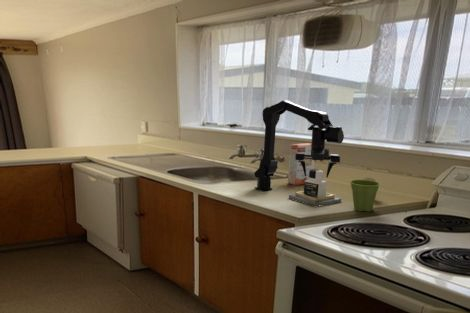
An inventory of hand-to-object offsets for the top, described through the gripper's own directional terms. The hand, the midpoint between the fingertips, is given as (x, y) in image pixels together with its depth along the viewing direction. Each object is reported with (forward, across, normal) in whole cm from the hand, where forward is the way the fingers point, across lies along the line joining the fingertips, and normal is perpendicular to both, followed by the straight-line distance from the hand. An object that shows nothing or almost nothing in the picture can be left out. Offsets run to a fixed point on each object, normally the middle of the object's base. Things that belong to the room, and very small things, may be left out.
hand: (316, 176), depth 170 cm
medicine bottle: (+9, 0, 0) cm, 9 cm away
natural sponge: (+11, +23, +9) cm, 27 cm away
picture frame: (+10, 0, 0) cm, 10 cm away
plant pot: (+11, +19, -9) cm, 24 cm away
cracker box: (+11, -6, +35) cm, 37 cm away
